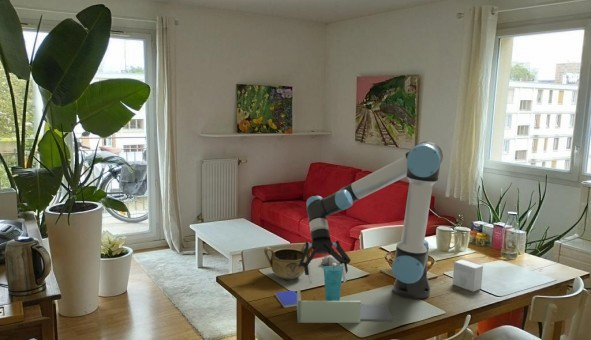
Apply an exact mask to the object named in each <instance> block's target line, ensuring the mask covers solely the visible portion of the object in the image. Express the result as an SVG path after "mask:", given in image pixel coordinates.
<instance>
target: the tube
mask: <svg viewBox="0 0 591 340" xmlns="http://www.w3.org/2000/svg"><path fill="white" fill-rule="evenodd" d="M342 272H343V266H341V265H340V266H329V265H323V278H324V279H323V280H324V290H325V291H324V294H325V296H324V297H325V298H324V299H325V300H324V301H341V288H342V280H343V276H342Z"/></svg>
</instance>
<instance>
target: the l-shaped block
mask: <svg viewBox="0 0 591 340" xmlns="http://www.w3.org/2000/svg"><path fill="white" fill-rule="evenodd" d="M296 294H297V306H296V314H297V315H296V316H297V319H296V320H297V324H299V323H300V324H302V323H303V324H304V323H305V324H309V323H310V324H314V323H315V324H317V323H318V324H323V323H324V324H326V323H327V324H328V323H332V324H333V323H335V324H336V323H338V324H339V323H340V324H346V323H348V324H352V323H353V324H357V323H358V324H359V323H361V321H360V313H361V305H362V303H361V302H362V301H361V300H340V301H325V300H302V294H301V289H298V288H297V289H296ZM301 300H302V301H301Z"/></svg>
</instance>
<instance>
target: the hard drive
mask: <svg viewBox="0 0 591 340" xmlns="http://www.w3.org/2000/svg"><path fill="white" fill-rule="evenodd" d="M275 297H276V298H277V300H278V301H279V302H280V303H281V305H282V307H284V308H285V309H286V308H292V307H297V292H295V290H288V291H279V292H275ZM301 301H303V300H302V299H301Z"/></svg>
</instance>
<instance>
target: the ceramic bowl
mask: <svg viewBox="0 0 591 340" xmlns="http://www.w3.org/2000/svg"><path fill="white" fill-rule="evenodd" d="M304 250H305V243H304V244H303V246H302V247H301V250H300V249H296V248H278V249H276V250H273V249H272V248H271V247H269V246H267V247H265V248H264V251H263V252H264V255H265V258H266V259H267V262H268V264H269V266H270V268H271V270H272V272H273V274H275V276H276V277H278V278H280V279H283V280H294V279H297V278H300V277H301V276H302V275H303V274H305V270H304V268H303V267H302V266H301V267H300V266H299V263H300V260H301V258H302V255H303V253H304ZM313 250H314V249H313V248H312V247H310V249H308V251H307V254H306V256H305V259H304V261H303V262H306V261H307V259H308V258H309V257H310V255H311V254H312V252H313ZM268 251H270V252H271V255H270V257H269V253H268Z"/></svg>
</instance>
